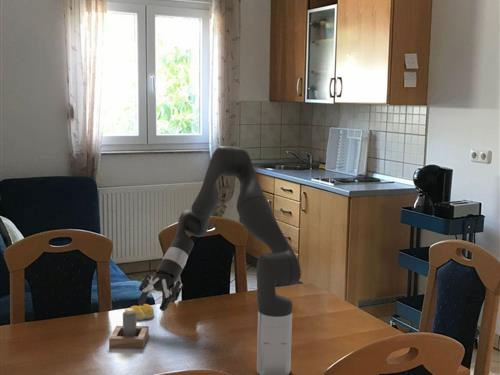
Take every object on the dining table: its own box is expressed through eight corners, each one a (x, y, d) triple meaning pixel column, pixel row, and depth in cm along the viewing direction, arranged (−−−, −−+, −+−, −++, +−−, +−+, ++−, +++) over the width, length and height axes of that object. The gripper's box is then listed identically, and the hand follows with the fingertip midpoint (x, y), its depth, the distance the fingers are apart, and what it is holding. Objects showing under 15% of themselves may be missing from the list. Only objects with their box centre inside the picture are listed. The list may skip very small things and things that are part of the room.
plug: (135, 344, 178) (134, 312, 176) (121, 344, 178) (121, 312, 176) (137, 339, 182) (137, 307, 180) (124, 338, 182) (124, 307, 180)
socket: (143, 348, 175) (142, 339, 174) (109, 348, 175) (109, 338, 174) (148, 335, 185) (148, 326, 184) (116, 334, 185) (116, 325, 184)
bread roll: (124, 314, 203) (124, 303, 203) (150, 311, 207) (150, 300, 206) (130, 322, 196) (130, 311, 195) (156, 319, 199) (156, 307, 199)
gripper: (150, 254, 197) (127, 297, 188) (185, 261, 190) (163, 306, 181) (160, 266, 202) (138, 308, 194) (195, 273, 195) (173, 317, 187)
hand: (150, 307), depth 188 cm, fingers open, 8 cm apart
